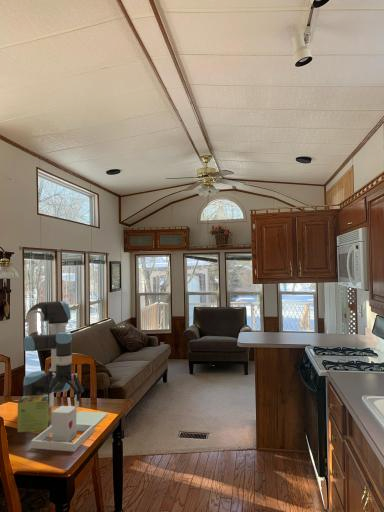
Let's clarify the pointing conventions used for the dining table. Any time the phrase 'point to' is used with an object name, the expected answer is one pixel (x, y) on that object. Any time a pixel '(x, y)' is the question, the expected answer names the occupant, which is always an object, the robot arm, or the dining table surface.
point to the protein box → (34, 413)
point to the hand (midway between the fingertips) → (64, 406)
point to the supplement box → (64, 424)
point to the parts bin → (62, 446)
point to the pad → (90, 417)
